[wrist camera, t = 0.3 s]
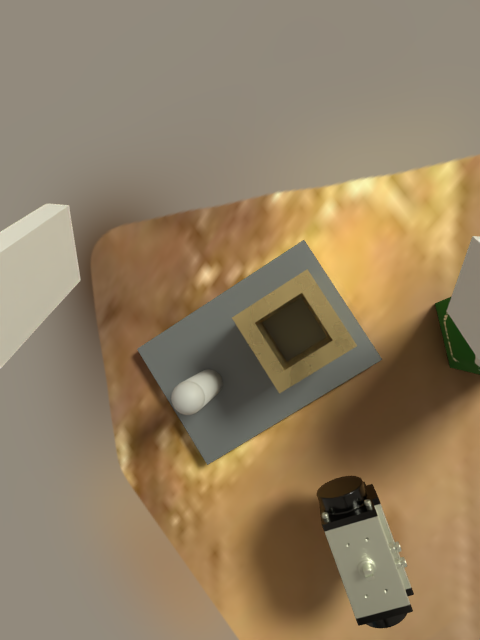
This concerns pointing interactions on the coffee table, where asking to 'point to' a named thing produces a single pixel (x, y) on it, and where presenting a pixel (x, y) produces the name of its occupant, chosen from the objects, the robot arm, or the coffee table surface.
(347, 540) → the pneumatic valve
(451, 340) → the milk carton
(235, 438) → the post plate
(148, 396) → the coffee table surface
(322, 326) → the collar
